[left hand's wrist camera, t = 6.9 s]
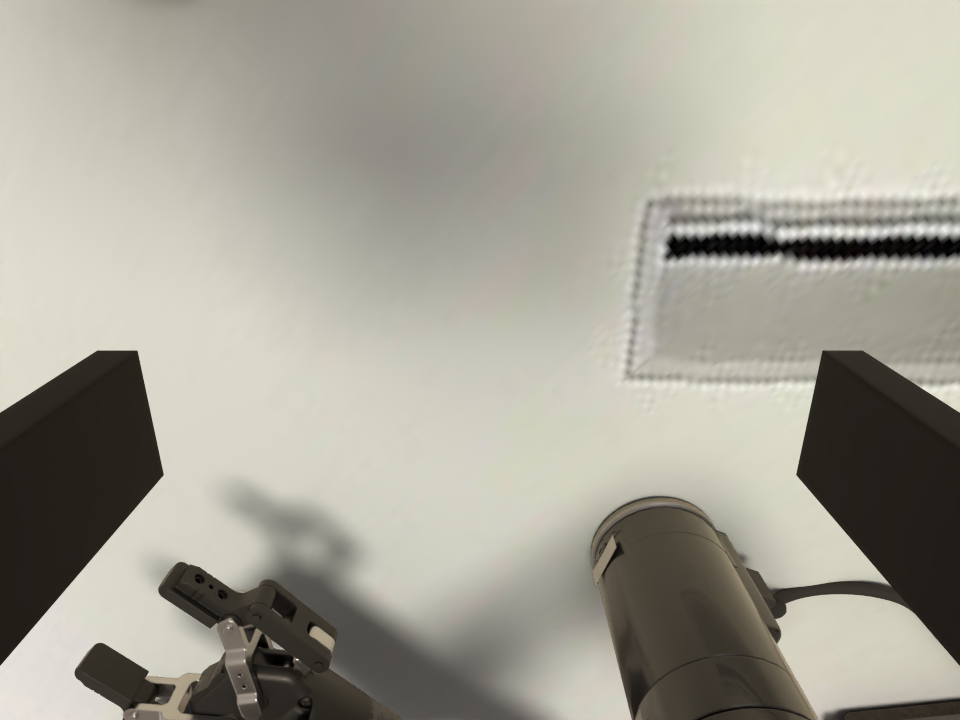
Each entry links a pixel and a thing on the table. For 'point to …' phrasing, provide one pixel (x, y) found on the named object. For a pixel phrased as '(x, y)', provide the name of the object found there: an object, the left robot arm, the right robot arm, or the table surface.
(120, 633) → the table surface
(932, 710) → the toy
